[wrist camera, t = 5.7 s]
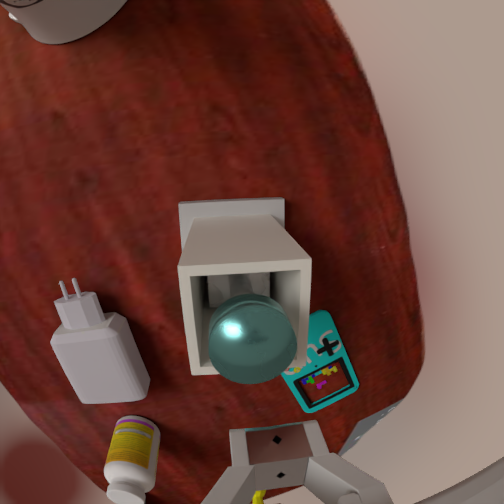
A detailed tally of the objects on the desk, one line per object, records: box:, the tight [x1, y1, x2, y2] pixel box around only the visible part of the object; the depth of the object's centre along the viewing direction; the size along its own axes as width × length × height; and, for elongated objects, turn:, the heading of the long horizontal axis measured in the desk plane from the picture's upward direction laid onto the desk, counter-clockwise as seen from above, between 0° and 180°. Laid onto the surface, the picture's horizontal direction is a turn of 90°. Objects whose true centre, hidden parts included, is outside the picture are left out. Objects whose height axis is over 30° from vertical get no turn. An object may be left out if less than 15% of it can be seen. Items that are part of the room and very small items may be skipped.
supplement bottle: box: [104, 415, 160, 504], centre depth 33 cm, size 7×7×13 cm
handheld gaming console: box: [281, 310, 359, 413], centre depth 38 cm, size 8×1×15 cm
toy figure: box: [252, 490, 266, 504], centre depth 39 cm, size 7×4×12 cm, turn 105°
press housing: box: [178, 197, 312, 375], centre depth 26 cm, size 10×10×16 cm
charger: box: [50, 278, 150, 404], centre depth 32 cm, size 5×9×15 cm
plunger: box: [207, 272, 297, 384], centre depth 21 cm, size 5×5×12 cm
